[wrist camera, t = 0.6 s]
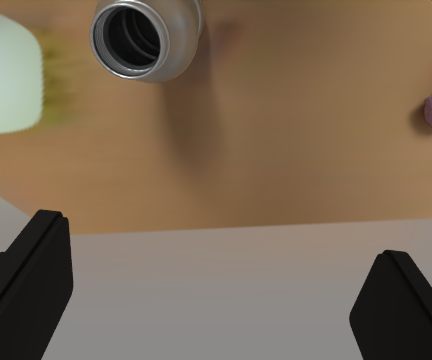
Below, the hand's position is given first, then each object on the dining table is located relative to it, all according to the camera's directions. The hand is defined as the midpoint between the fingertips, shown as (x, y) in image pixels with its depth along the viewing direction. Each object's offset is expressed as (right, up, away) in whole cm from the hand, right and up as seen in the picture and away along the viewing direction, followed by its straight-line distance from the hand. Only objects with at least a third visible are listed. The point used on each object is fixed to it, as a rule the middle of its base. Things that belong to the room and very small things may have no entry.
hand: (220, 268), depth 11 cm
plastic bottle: (-4, +19, +24) cm, 31 cm away
